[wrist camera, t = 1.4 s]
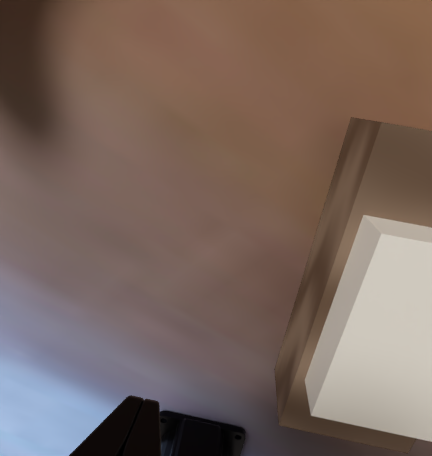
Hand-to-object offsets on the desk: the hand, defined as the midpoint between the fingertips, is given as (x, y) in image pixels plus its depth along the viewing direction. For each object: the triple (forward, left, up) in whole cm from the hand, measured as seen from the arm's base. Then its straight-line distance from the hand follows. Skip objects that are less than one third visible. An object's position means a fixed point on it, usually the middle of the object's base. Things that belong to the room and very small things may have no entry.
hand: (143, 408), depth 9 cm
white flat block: (0, -9, -6) cm, 11 cm away
